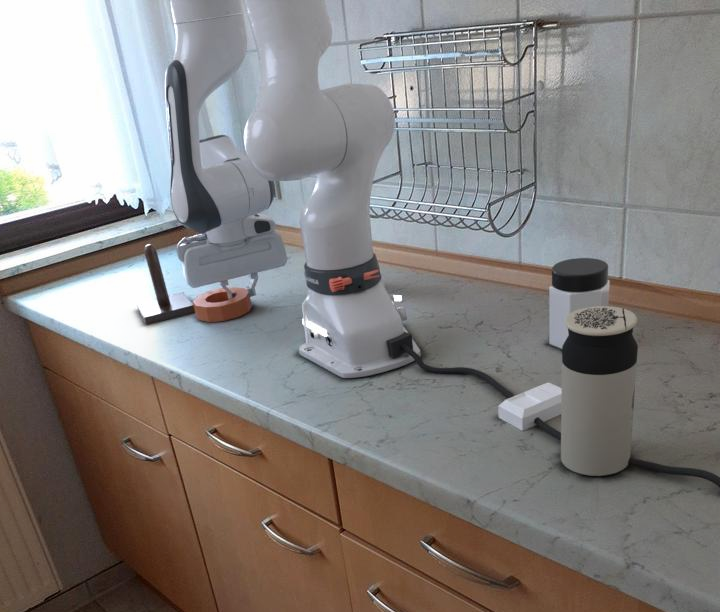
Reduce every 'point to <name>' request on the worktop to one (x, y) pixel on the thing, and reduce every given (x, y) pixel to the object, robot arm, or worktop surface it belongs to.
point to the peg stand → (161, 294)
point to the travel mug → (598, 390)
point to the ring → (222, 305)
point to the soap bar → (532, 406)
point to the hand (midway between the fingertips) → (242, 298)
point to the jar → (575, 292)
